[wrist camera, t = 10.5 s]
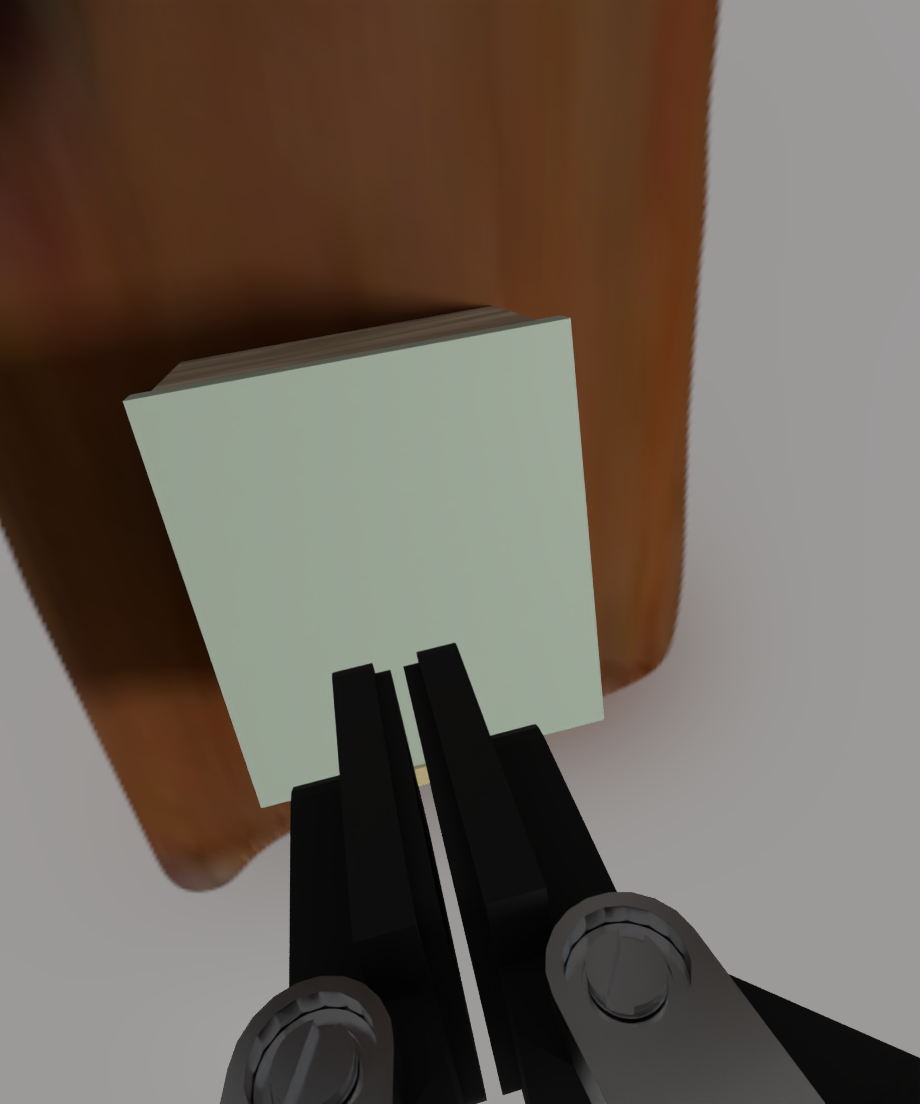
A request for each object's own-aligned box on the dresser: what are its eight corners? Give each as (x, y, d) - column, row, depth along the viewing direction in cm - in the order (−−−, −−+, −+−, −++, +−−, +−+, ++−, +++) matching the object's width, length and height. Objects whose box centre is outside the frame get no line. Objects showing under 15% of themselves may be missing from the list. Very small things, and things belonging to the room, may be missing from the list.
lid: (137, 388, 28) (121, 402, 26) (549, 312, 30) (572, 318, 28) (268, 785, 36) (266, 825, 34) (586, 704, 38) (606, 736, 36)
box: (180, 361, 37) (142, 399, 27) (491, 305, 39) (551, 323, 29) (272, 666, 44) (265, 775, 35) (529, 606, 46) (586, 694, 37)
